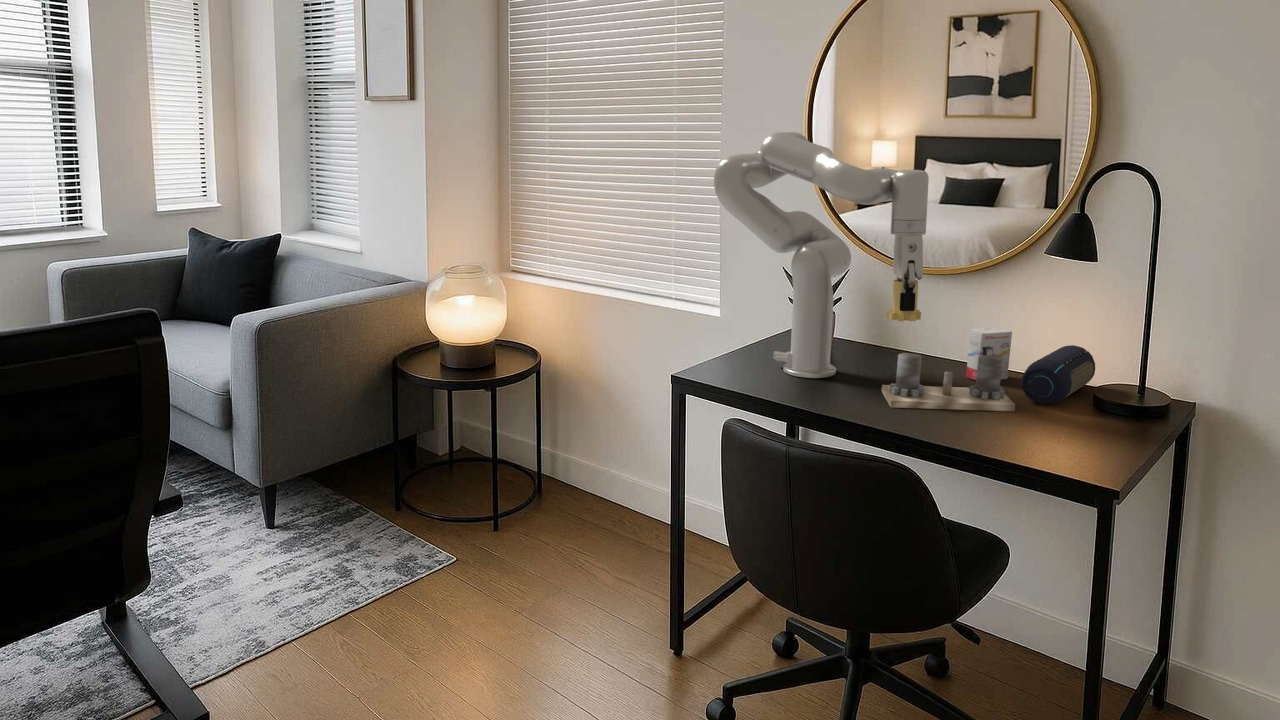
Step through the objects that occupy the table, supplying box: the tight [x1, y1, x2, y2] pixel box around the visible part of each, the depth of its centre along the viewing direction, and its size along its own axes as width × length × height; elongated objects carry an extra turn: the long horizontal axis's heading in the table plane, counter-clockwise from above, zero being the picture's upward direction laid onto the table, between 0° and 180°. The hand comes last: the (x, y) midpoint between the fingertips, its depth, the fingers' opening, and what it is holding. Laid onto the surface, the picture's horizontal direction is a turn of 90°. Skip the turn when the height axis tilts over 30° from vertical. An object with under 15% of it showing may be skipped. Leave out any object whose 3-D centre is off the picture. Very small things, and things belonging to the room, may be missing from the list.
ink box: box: [965, 327, 1013, 381], centre depth 230 cm, size 9×5×12 cm, turn 107°
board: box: [881, 352, 1016, 412], centre depth 212 cm, size 26×12×10 cm, turn 85°
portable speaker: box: [1021, 344, 1096, 405], centre depth 218 cm, size 25×10×10 cm, turn 139°
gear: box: [887, 278, 922, 322], centre depth 218 cm, size 7×7×8 cm
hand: (904, 307), depth 218 cm, fingers closed on gear, 5 cm apart
